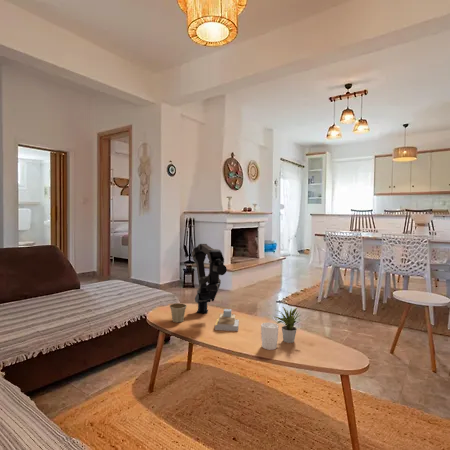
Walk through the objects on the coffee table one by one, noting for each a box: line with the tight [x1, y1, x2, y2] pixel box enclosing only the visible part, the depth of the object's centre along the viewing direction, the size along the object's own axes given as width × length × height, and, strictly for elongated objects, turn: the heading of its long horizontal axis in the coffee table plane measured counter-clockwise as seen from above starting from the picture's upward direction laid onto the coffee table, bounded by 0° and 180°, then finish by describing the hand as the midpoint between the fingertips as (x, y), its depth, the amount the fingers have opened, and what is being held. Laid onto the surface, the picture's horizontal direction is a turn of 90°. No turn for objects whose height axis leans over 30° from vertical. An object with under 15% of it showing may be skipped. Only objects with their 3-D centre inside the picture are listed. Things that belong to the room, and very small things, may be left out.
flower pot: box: [169, 302, 188, 324], centre depth 181 cm, size 9×9×9 cm
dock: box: [214, 318, 240, 332], centre depth 173 cm, size 11×12×3 cm
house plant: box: [274, 306, 301, 344], centre depth 157 cm, size 14×14×16 cm
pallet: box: [219, 313, 236, 324], centre depth 173 cm, size 8×6×4 cm
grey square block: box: [222, 308, 233, 317], centre depth 173 cm, size 4×4×3 cm
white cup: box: [260, 322, 279, 351], centre depth 148 cm, size 8×8×10 cm
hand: (213, 299), depth 184 cm, fingers open, 9 cm apart
